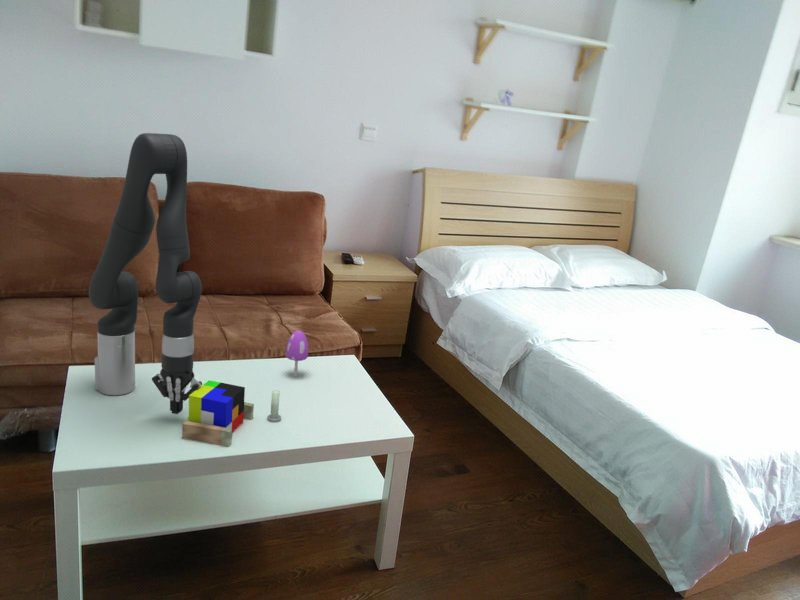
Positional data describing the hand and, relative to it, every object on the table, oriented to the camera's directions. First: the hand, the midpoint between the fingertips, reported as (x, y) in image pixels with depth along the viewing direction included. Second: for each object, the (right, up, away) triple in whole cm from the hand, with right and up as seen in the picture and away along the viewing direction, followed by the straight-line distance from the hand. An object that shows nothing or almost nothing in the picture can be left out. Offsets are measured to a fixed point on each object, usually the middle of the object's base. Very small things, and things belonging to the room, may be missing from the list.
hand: (176, 412), depth 160 cm
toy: (+25, +5, +35) cm, 43 cm away
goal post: (+24, -3, +7) cm, 25 cm away
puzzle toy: (+10, -4, -1) cm, 11 cm away
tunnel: (+12, -3, +2) cm, 12 cm away
